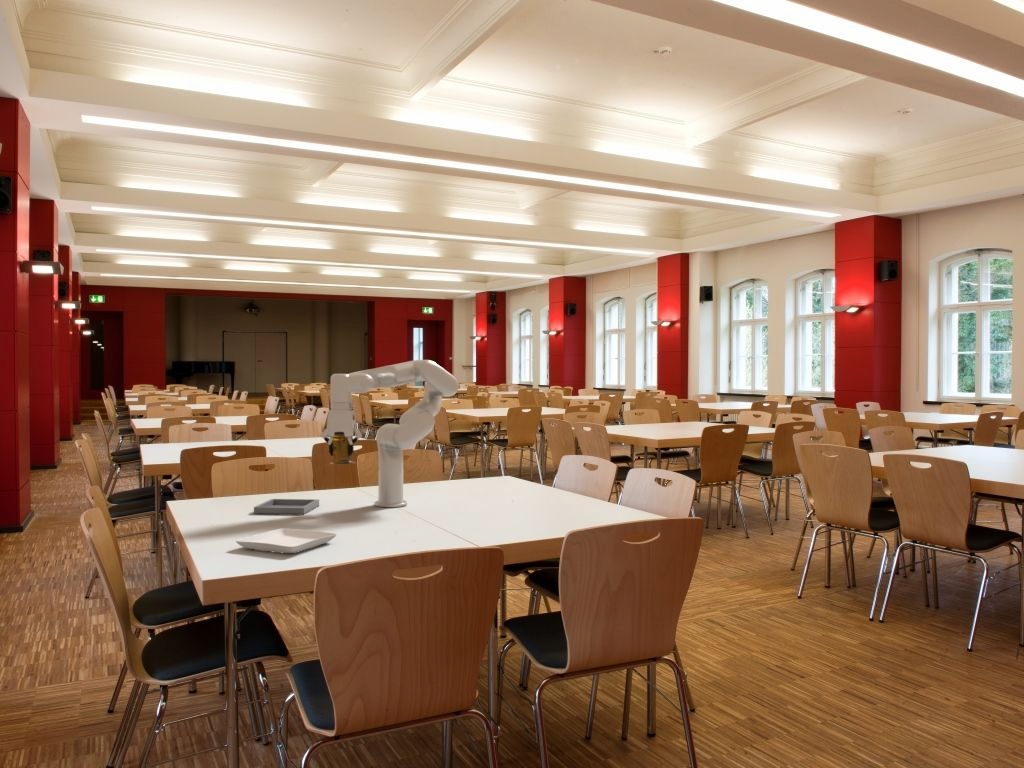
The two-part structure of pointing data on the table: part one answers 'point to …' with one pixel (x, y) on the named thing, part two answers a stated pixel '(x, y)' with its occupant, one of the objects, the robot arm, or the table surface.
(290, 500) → the tray
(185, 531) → the table surface
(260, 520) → the table surface
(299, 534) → the salad plate
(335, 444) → the condiment
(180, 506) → the table surface
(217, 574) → the table surface
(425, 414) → the robot arm
